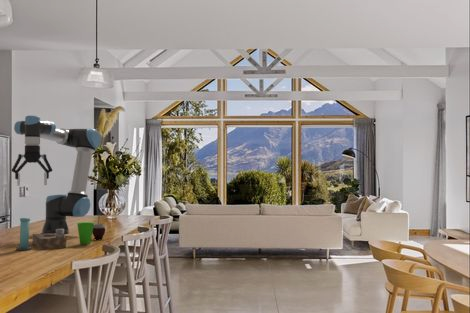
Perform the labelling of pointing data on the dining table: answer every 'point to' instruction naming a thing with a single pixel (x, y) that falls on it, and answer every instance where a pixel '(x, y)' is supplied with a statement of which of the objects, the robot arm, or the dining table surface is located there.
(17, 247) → the coaster
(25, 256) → the dining table surface
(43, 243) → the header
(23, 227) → the teal tall cylinder
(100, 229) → the mate gourd
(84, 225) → the cup
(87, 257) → the dining table surface
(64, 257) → the dining table surface
